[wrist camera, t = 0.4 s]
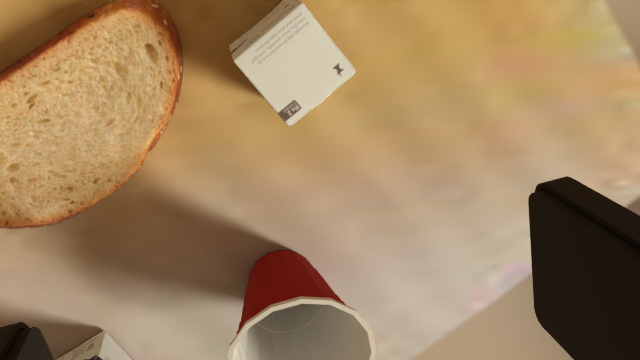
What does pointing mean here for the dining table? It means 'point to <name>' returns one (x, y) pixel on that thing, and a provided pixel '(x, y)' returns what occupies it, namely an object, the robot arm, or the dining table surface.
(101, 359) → the tea box
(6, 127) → the bread slice
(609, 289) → the robot arm
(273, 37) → the skincare box
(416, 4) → the dining table surface
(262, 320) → the plastic cup
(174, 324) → the dining table surface
